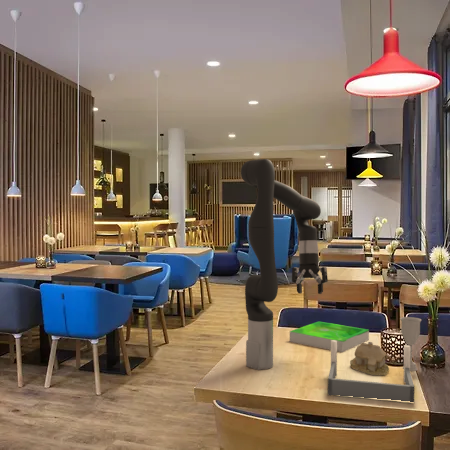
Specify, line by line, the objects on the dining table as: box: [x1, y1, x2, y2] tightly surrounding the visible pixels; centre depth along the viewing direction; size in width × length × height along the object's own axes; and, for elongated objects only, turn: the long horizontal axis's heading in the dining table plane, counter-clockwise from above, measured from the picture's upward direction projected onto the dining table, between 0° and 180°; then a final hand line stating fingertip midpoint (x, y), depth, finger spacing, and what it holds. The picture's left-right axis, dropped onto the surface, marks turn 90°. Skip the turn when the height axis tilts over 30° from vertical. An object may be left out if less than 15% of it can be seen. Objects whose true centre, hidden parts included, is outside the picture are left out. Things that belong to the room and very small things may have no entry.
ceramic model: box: [349, 341, 390, 376], centre depth 178 cm, size 14×11×10 cm
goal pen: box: [327, 340, 415, 403], centre depth 160 cm, size 20×26×12 cm
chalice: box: [399, 316, 422, 372], centre depth 179 cm, size 7×7×18 cm
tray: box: [289, 321, 370, 353], centre depth 217 cm, size 25×25×5 cm
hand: (309, 293), depth 195 cm, fingers open, 8 cm apart
